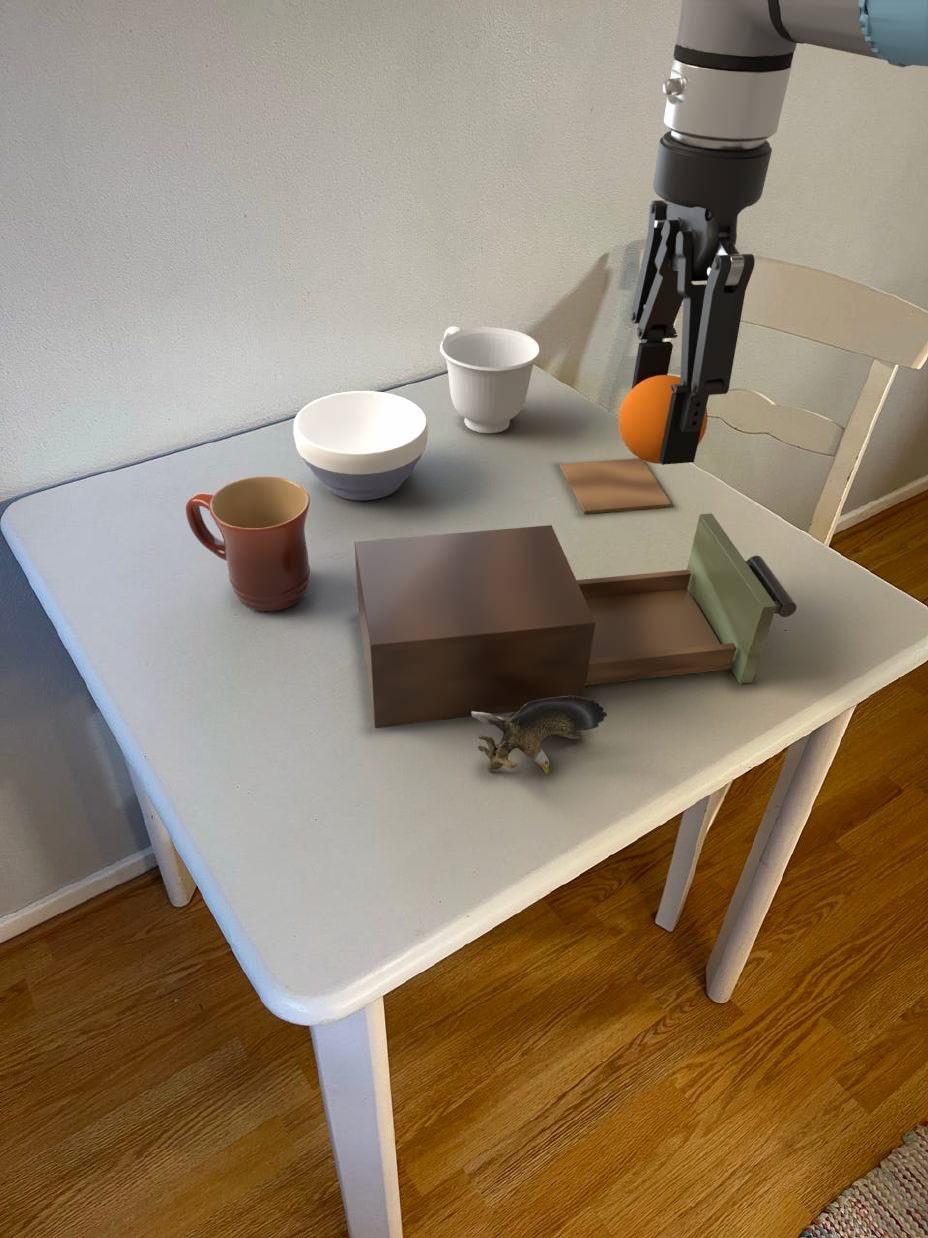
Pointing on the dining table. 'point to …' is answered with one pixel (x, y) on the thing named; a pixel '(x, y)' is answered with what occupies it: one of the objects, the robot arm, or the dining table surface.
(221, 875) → the dining table surface
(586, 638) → the cabinet
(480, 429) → the teacup
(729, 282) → the robot arm
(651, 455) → the orange
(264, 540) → the mug
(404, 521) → the dining table surface
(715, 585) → the drawer
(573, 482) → the coaster
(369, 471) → the bowl
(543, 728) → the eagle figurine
